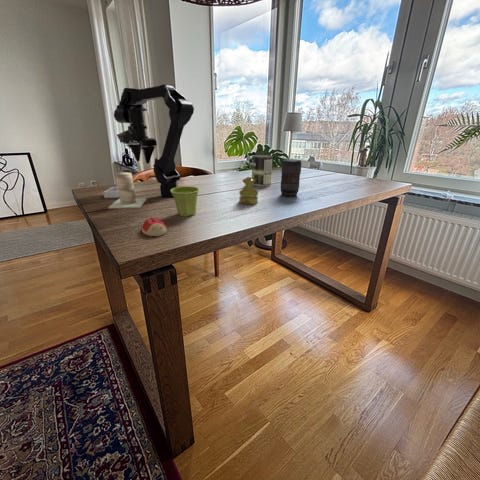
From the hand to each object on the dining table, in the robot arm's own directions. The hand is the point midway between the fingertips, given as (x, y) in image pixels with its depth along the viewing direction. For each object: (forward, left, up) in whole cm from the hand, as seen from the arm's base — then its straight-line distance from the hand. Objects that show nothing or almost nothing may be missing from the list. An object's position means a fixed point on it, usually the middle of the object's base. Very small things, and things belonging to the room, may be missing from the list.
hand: (142, 162), depth 114 cm
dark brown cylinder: (-64, +10, -13) cm, 66 cm away
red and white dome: (-14, +48, -14) cm, 52 cm away
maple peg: (+2, +20, -12) cm, 24 cm away
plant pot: (-22, +33, -13) cm, 42 cm away
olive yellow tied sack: (-45, +20, -13) cm, 51 cm away
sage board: (+2, +20, -13) cm, 24 cm away
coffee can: (-55, -13, -13) cm, 58 cm away
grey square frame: (+10, +6, -13) cm, 17 cm away
